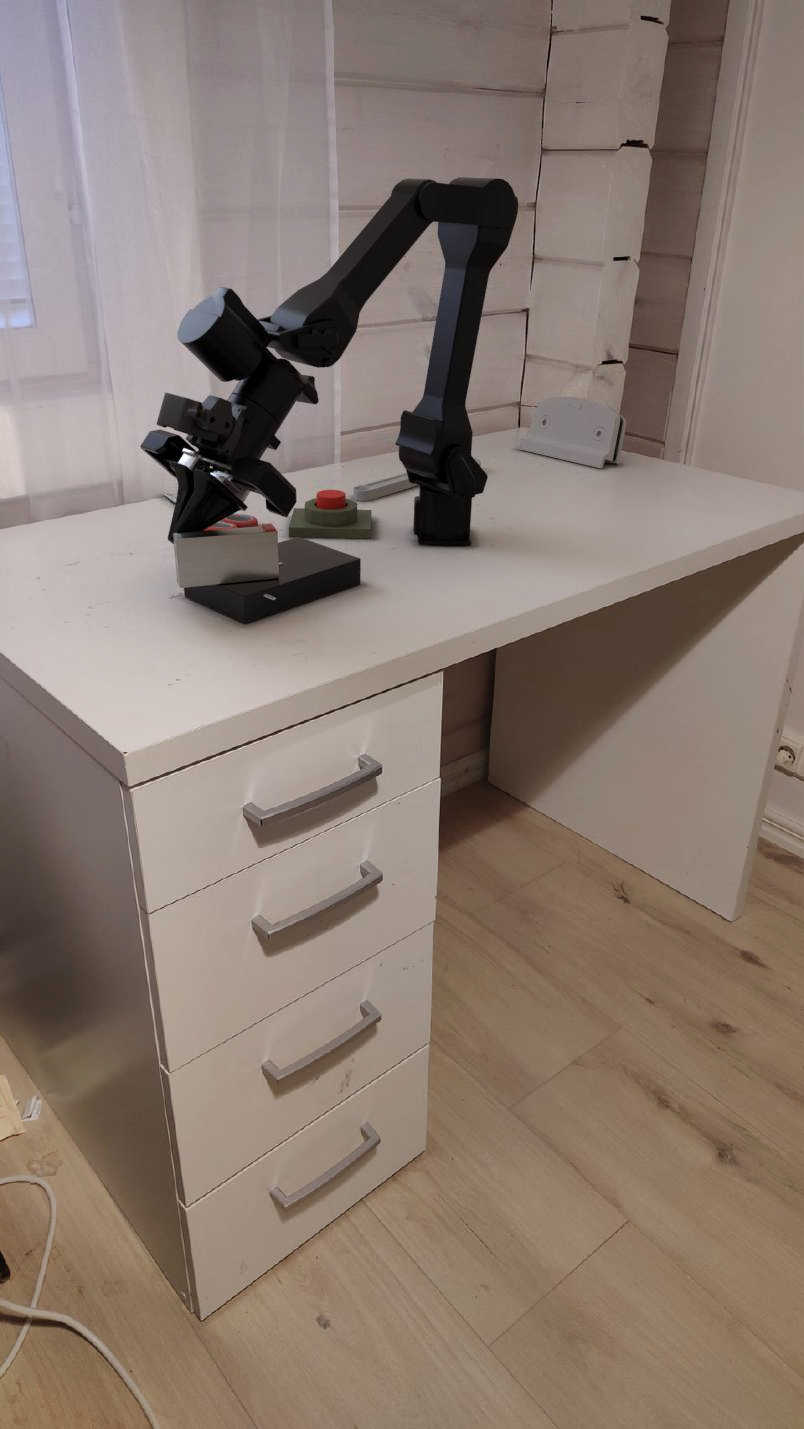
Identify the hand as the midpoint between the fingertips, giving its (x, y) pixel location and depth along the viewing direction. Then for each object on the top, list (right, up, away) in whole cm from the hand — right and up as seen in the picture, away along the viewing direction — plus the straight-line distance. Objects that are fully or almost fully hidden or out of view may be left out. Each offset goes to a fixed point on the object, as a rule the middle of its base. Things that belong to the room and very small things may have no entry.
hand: (172, 542), depth 99 cm
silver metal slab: (+5, -3, +2) cm, 7 cm away
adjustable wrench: (+24, +17, +47) cm, 56 cm away
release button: (+14, +9, +26) cm, 31 cm away
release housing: (+14, +7, +28) cm, 32 cm away
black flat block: (+8, -5, +6) cm, 11 cm away
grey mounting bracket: (+50, +25, +64) cm, 85 cm away
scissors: (-4, +8, +30) cm, 31 cm away
